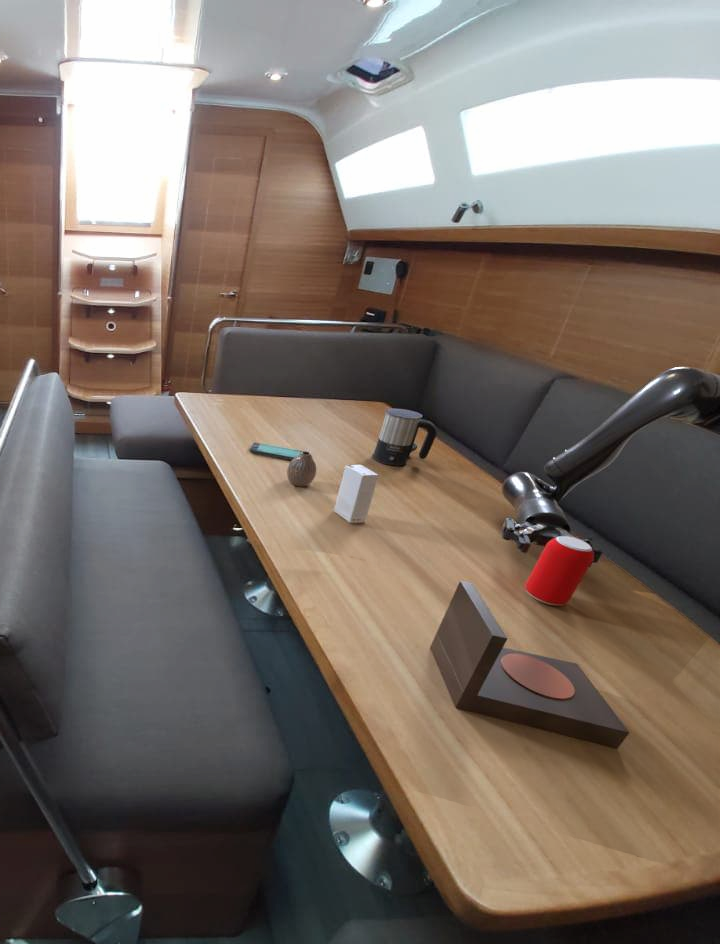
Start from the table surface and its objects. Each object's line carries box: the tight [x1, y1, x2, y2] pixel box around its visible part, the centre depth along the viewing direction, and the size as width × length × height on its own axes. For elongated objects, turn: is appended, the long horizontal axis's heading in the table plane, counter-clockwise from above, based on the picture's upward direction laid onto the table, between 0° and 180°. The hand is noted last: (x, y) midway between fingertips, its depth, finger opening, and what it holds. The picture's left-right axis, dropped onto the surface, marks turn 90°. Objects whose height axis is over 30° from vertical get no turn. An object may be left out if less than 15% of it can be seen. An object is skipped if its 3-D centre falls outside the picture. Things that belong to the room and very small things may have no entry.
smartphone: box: [249, 442, 304, 461], centre depth 150 cm, size 7×1×15 cm
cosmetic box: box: [333, 464, 379, 524], centre depth 114 cm, size 6×4×12 cm
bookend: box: [429, 580, 630, 749], centre depth 68 cm, size 18×12×13 cm, turn 72°
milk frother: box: [371, 408, 438, 467], centre depth 148 cm, size 14×16×15 cm
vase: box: [286, 450, 317, 488], centre depth 130 cm, size 7×7×9 cm
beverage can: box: [524, 536, 594, 606], centre depth 88 cm, size 6×6×12 cm
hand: (555, 556), depth 92 cm, fingers open, 8 cm apart
